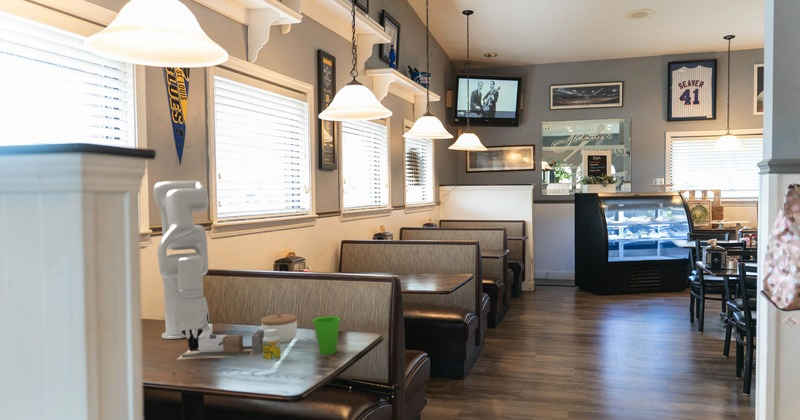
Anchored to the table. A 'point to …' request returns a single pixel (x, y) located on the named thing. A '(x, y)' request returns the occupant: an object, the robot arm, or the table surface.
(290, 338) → the lidded bowl
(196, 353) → the gauge bed
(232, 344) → the walnut block
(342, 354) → the table surface
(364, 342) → the table surface
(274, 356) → the supplement bottle
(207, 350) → the knobbed grey slider
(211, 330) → the shot glass
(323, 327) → the cup
